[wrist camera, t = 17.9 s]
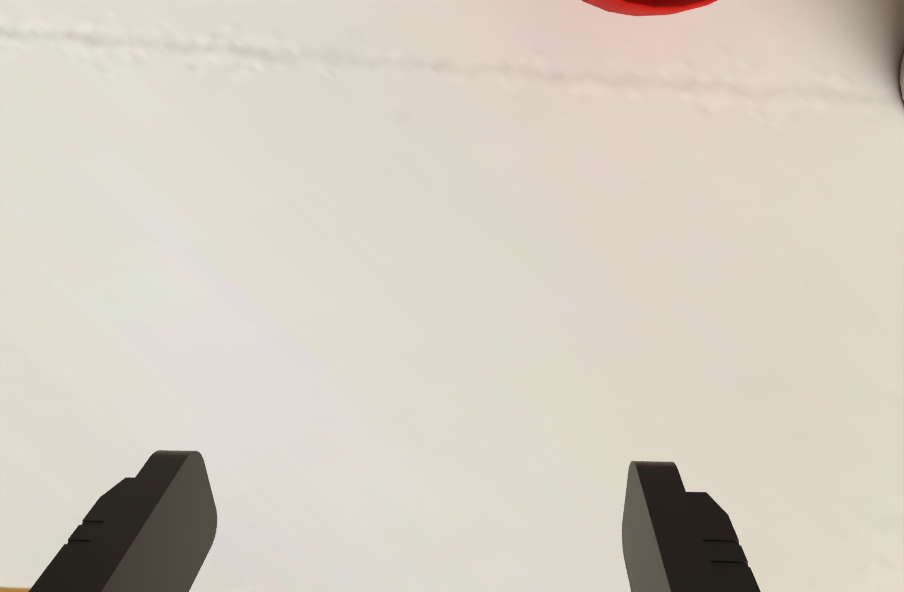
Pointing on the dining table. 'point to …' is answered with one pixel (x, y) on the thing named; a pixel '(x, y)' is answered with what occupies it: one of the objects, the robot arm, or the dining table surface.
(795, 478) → the dining table surface
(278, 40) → the dining table surface
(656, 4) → the ceramic cup
